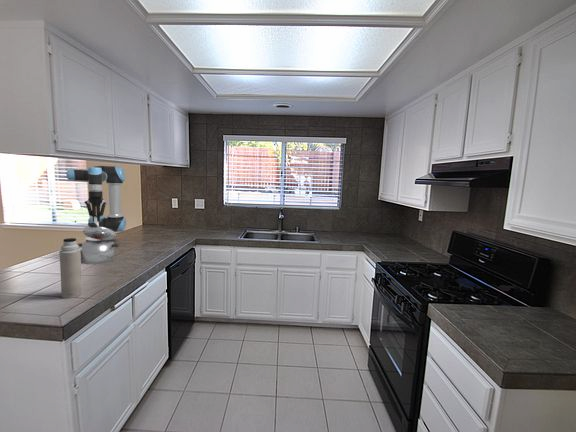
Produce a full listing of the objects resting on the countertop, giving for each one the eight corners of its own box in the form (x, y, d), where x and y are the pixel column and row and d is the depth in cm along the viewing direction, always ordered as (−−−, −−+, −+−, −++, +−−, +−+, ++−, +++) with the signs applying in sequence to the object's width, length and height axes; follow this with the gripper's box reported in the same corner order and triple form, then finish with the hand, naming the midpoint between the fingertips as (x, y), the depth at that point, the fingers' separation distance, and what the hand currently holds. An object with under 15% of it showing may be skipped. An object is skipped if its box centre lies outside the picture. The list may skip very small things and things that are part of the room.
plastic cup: (94, 256, 206) (93, 240, 204) (81, 255, 208) (81, 238, 206) (106, 252, 216) (106, 237, 215) (94, 251, 218) (94, 235, 217)
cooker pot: (85, 256, 204) (84, 240, 203) (123, 256, 209) (123, 240, 207) (71, 264, 187) (70, 245, 185) (113, 264, 191) (112, 246, 190)
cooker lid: (89, 239, 204) (91, 235, 206) (119, 240, 207) (120, 235, 209) (74, 224, 184) (76, 219, 186) (107, 225, 187) (108, 220, 189)
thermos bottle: (58, 298, 136) (55, 240, 133) (66, 292, 144) (64, 237, 140) (77, 298, 138) (75, 240, 135) (85, 291, 146) (82, 237, 142)
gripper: (81, 190, 186) (82, 227, 188) (103, 191, 188) (104, 227, 190) (87, 190, 193) (88, 225, 196) (108, 191, 195) (109, 225, 198)
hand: (96, 226), depth 193 cm, fingers closed
